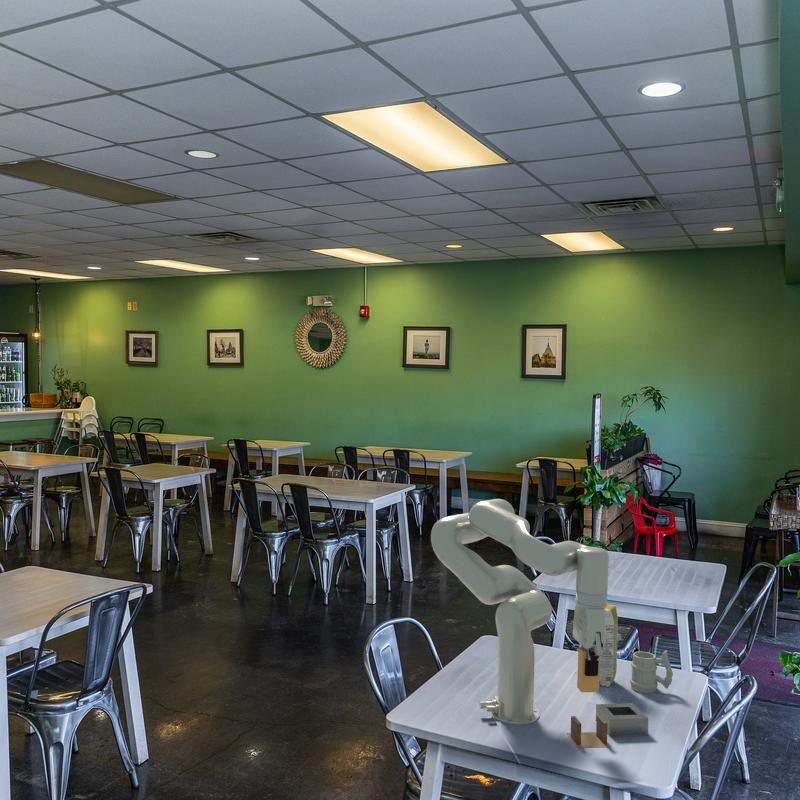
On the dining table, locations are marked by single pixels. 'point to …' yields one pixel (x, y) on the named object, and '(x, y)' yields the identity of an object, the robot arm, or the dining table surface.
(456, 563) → the robot arm
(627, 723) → the port block
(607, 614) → the juice carton
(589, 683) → the plug
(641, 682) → the mug
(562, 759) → the dining table surface
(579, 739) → the tan u-shaped piece
